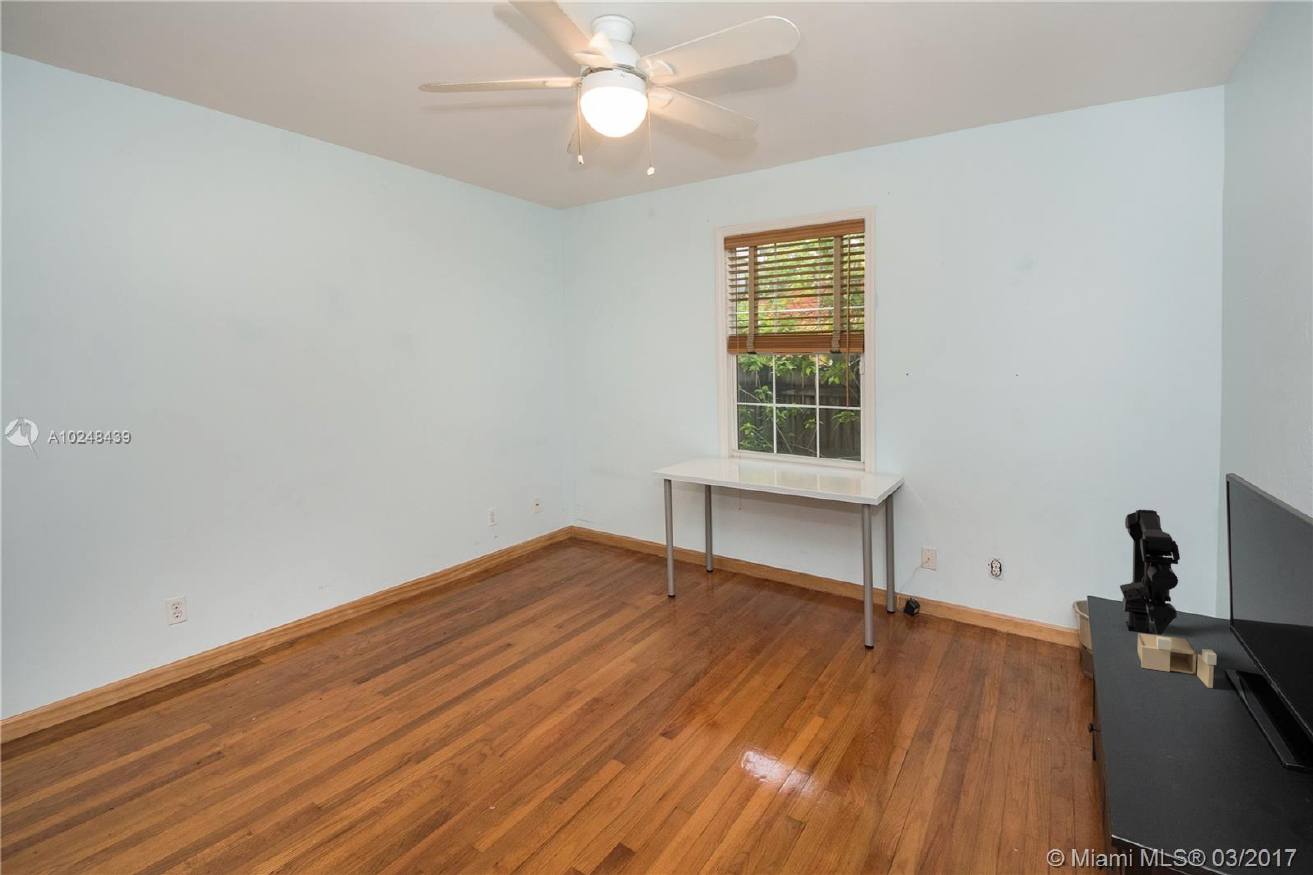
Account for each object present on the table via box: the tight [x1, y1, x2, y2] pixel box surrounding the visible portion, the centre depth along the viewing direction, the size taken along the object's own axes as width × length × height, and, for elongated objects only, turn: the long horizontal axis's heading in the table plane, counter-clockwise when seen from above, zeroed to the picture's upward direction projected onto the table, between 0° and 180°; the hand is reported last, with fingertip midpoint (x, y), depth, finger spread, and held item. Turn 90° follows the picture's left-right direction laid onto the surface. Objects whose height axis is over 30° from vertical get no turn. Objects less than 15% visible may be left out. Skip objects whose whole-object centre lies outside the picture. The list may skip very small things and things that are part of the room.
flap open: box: [1196, 648, 1217, 689], centre depth 169 cm, size 2×6×10 cm, turn 159°
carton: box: [1137, 632, 1197, 675], centre depth 180 cm, size 9×12×7 cm
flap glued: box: [1140, 635, 1171, 673], centre depth 177 cm, size 2×6×10 cm, turn 59°
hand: (1155, 627), depth 177 cm, fingers open, 9 cm apart
